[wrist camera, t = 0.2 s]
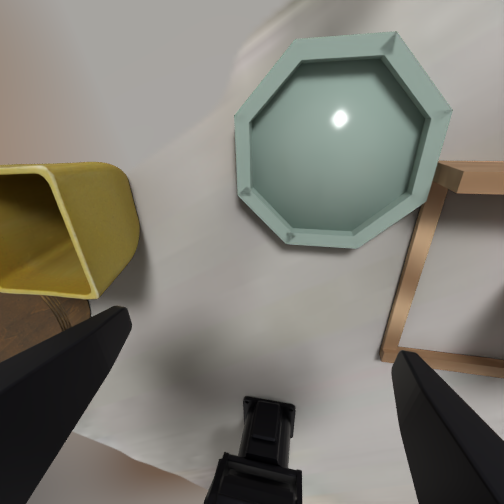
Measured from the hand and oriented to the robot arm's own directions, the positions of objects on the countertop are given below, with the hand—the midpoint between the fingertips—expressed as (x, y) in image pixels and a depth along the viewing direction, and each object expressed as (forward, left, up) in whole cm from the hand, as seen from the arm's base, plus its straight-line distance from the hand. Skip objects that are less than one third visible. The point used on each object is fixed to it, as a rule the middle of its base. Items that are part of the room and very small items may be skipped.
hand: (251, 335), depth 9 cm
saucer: (+4, -3, -14) cm, 15 cm away
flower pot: (0, +16, -15) cm, 22 cm away
